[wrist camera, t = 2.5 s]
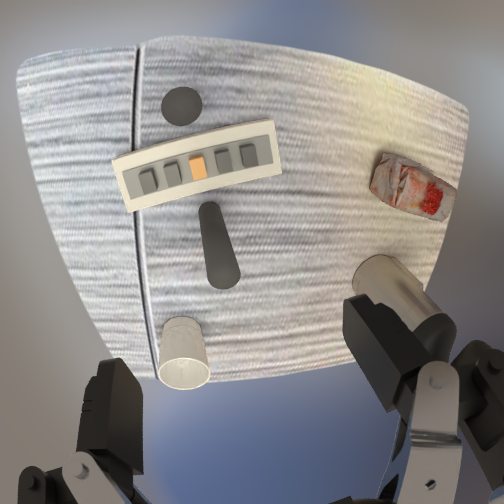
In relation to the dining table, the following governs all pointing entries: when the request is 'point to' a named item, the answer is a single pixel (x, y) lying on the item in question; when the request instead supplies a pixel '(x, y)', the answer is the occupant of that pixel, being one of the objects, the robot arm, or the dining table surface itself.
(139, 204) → the breaker panel
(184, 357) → the white cup
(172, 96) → the dark grey post
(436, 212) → the food item
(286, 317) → the dining table surface
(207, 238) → the dark grey cylinder rod
